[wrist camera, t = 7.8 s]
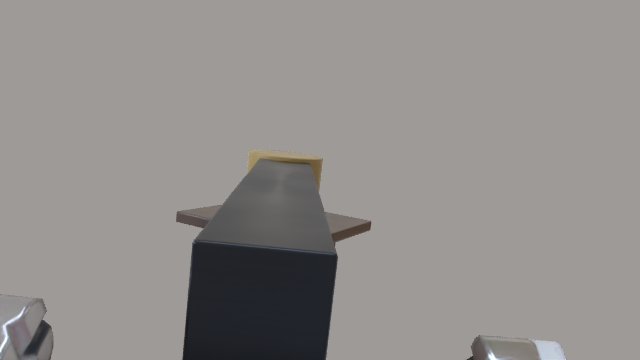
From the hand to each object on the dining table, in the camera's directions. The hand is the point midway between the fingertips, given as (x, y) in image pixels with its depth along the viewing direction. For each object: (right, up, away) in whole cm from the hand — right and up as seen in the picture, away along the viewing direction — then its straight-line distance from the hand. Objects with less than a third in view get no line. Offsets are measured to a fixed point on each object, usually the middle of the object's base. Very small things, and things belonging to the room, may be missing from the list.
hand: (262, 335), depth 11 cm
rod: (0, 0, +9) cm, 9 cm away
